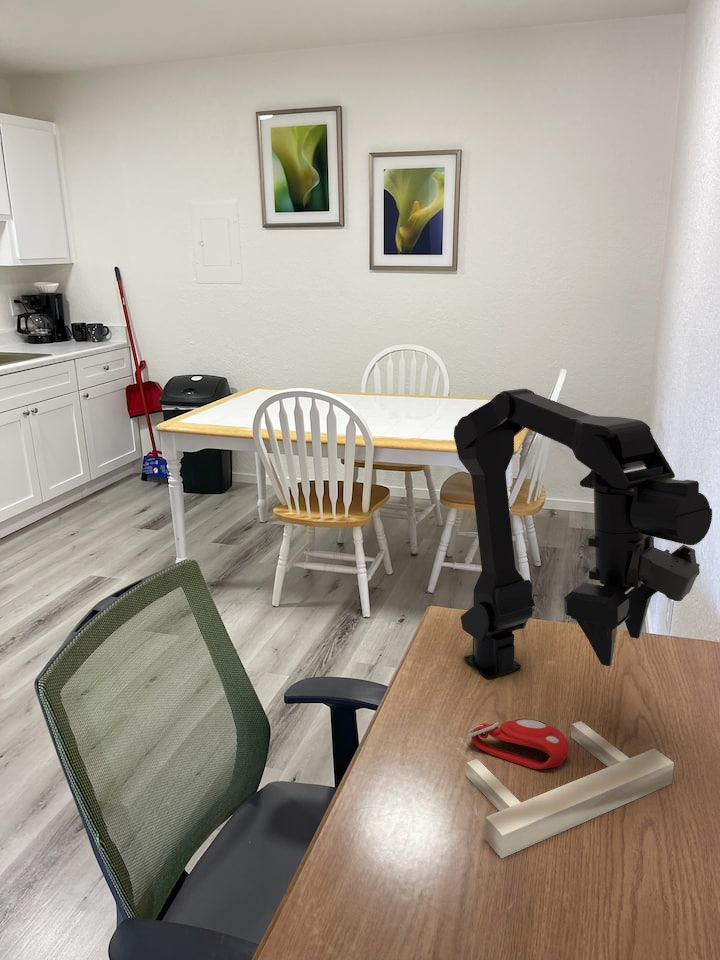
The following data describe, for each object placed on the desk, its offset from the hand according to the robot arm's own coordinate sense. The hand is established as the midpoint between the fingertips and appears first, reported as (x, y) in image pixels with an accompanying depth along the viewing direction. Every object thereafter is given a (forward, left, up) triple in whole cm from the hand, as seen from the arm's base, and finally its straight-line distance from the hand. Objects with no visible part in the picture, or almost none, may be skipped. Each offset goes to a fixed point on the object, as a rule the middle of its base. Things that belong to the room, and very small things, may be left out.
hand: (621, 650), depth 90 cm
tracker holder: (-7, -10, -15) cm, 19 cm away
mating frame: (+2, -11, -15) cm, 18 cm away
